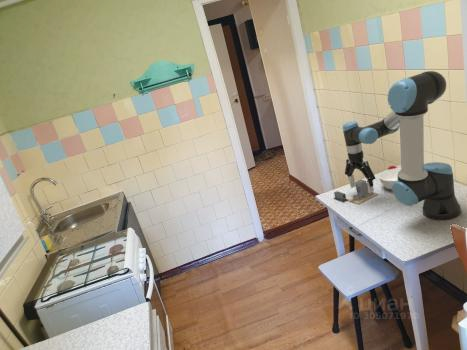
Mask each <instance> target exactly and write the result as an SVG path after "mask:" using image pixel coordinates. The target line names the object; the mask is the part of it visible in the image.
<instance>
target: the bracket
mask: <svg viewBox="0 0 467 350" xmlns="http://www.w3.org/2000/svg"><path fill="white" fill-rule="evenodd" d="M395 168H398V167H397V166H396V165H390V166H388V168H387V170H390V169H395Z"/></svg>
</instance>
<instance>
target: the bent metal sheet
mask: <svg viewBox="0 0 467 350" xmlns="http://www.w3.org/2000/svg"><path fill="white" fill-rule="evenodd" d="M355 189H356V190H355V191H356V193H355V194H354V195H352V198H353V200H357V201H360V200H362V199H364V198H366V197H368V196H370V195H372V194H373V192H374V191H373V192H371V193H369V191H368V189H367V180H365V179H359V180H356V181H355Z"/></svg>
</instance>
